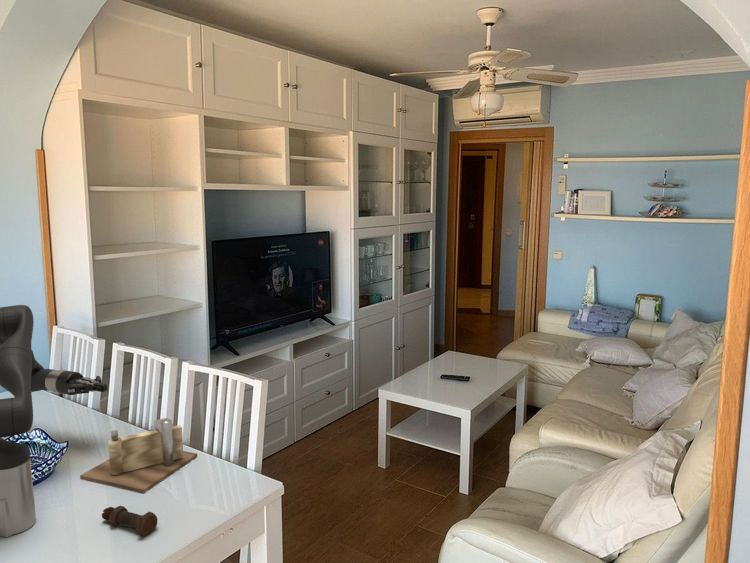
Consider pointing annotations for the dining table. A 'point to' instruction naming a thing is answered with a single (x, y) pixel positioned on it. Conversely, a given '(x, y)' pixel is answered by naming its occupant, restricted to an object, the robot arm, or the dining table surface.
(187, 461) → the hinge base
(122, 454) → the link
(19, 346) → the robot arm
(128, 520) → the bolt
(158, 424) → the post
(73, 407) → the dining table surface
